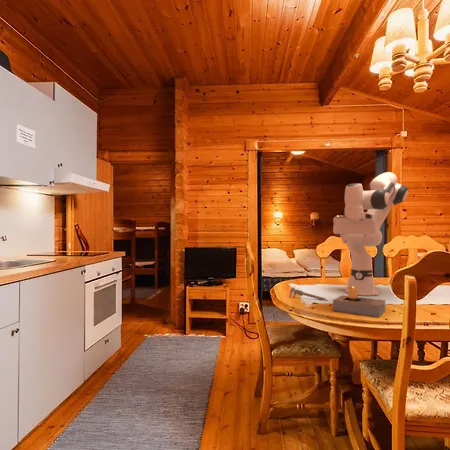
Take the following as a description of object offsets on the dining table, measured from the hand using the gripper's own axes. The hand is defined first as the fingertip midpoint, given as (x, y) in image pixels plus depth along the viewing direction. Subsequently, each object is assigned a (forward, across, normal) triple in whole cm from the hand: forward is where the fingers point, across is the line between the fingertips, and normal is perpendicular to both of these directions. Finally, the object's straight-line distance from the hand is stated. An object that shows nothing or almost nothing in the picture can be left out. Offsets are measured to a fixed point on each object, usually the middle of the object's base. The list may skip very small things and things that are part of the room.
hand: (353, 243), depth 172 cm
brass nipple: (+30, -4, -9) cm, 32 cm away
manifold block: (+31, -2, -11) cm, 33 cm away
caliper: (+32, -18, +17) cm, 40 cm away
